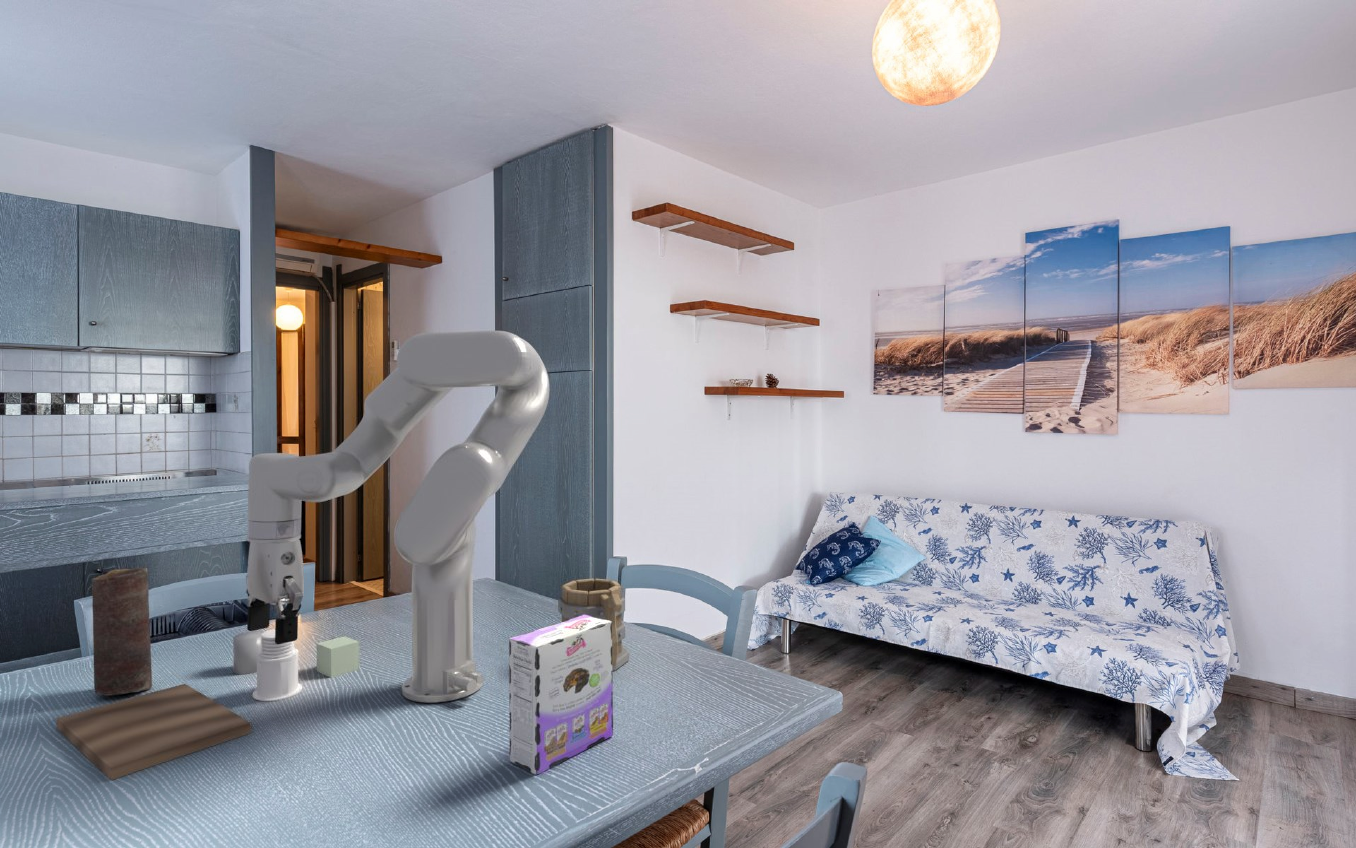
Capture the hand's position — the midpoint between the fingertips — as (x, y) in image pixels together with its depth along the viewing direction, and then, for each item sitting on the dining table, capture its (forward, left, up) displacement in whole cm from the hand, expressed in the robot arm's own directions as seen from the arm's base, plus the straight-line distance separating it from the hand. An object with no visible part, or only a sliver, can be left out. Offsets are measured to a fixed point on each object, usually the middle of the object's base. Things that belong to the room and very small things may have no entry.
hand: (271, 635), depth 115 cm
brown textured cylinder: (+19, +14, -10) cm, 26 cm away
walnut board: (-1, +16, -9) cm, 19 cm away
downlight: (-1, -1, -10) cm, 10 cm away
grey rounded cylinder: (+14, -3, -9) cm, 17 cm away
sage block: (+1, -12, -10) cm, 15 cm away
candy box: (-52, -15, -10) cm, 55 cm away
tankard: (-35, -40, -10) cm, 53 cm away
